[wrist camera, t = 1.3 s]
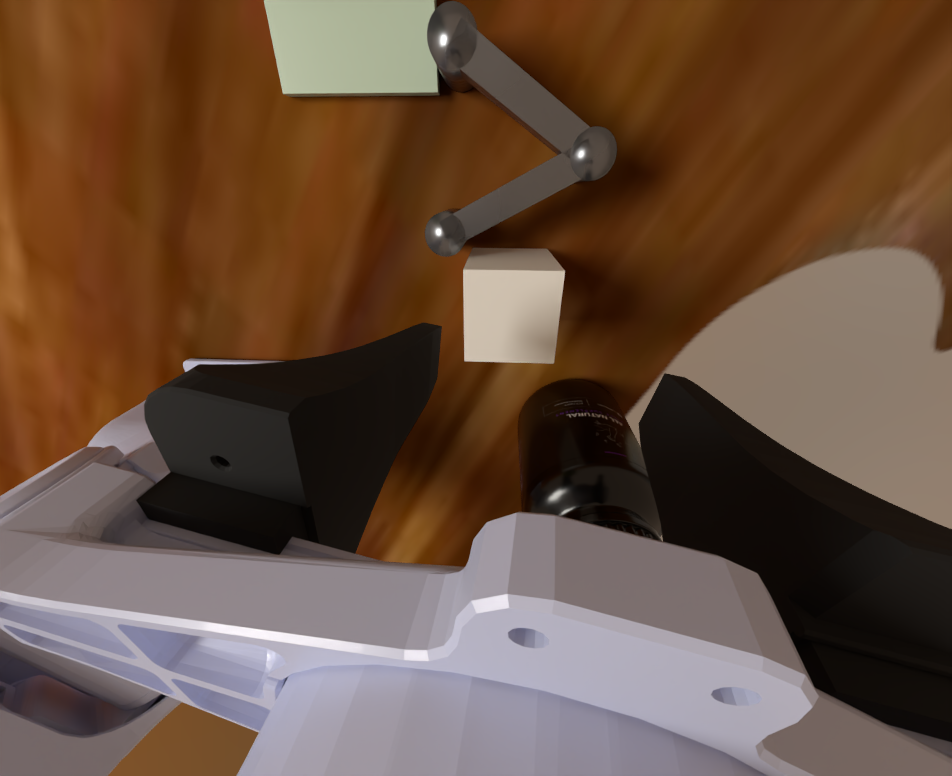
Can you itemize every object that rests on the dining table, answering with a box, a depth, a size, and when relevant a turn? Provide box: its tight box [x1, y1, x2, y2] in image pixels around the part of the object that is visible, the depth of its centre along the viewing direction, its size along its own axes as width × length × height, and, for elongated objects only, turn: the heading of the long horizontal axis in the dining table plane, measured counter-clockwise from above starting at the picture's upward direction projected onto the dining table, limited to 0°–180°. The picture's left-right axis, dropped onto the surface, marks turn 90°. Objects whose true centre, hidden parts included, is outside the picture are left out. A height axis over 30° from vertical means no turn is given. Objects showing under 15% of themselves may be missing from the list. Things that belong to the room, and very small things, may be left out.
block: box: [463, 248, 565, 364], centre depth 18 cm, size 4×4×6 cm
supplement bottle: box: [518, 379, 662, 541], centre depth 19 cm, size 7×7×12 cm
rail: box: [425, 1, 617, 256], centre depth 16 cm, size 8×8×4 cm
